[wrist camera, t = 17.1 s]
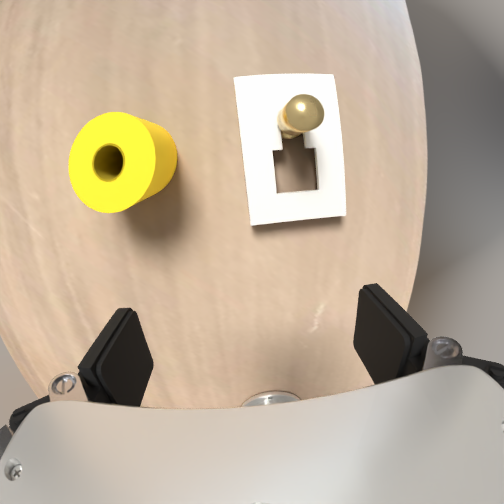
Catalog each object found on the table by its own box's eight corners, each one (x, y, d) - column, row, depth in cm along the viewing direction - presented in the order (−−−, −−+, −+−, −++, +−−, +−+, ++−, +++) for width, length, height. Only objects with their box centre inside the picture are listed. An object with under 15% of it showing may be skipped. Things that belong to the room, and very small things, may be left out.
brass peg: (305, 137, 31) (328, 132, 23) (273, 139, 31) (286, 133, 23) (301, 107, 30) (323, 92, 21) (269, 109, 30) (281, 92, 21)
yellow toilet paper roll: (97, 142, 30) (58, 142, 21) (162, 109, 29) (137, 94, 20) (121, 209, 33) (88, 227, 24) (188, 180, 32) (170, 189, 24)
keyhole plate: (339, 211, 35) (346, 215, 32) (249, 220, 35) (250, 225, 32) (327, 79, 29) (333, 74, 26) (234, 82, 28) (233, 77, 26)
